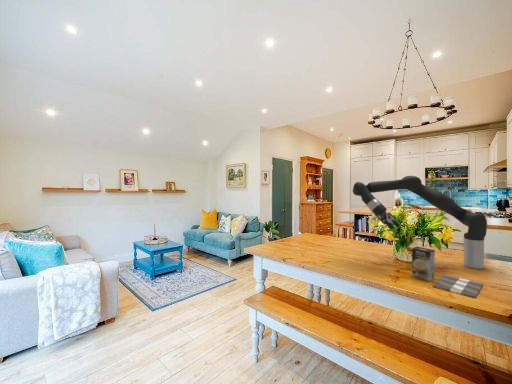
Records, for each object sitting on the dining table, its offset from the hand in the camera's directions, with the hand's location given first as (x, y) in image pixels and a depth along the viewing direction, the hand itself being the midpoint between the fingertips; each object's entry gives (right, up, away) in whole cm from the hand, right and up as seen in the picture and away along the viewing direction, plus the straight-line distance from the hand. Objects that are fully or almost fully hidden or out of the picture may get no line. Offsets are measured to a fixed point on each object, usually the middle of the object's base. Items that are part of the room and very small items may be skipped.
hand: (396, 227), depth 140 cm
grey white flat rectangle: (+19, -26, -21) cm, 39 cm away
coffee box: (+9, -26, -10) cm, 30 cm away
